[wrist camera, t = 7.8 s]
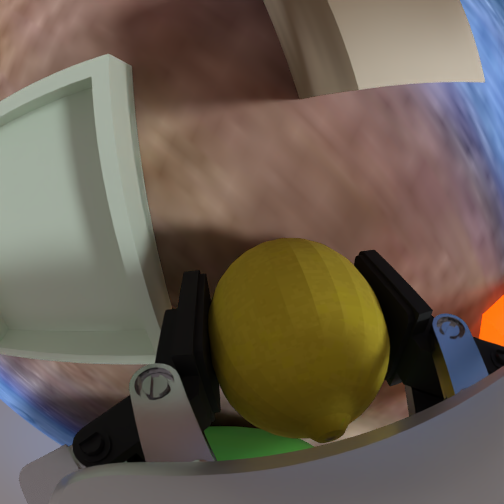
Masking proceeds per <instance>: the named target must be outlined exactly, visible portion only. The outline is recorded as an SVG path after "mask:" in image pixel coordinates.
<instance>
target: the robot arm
mask: <svg viewBox="0 0 504 504" xmlns="http://www.w3.org/2000/svg"><path fill="white" fill-rule="evenodd" d="M354 266H355V267H356V268H357V270H358V271H359V272H360V273H361V275H362V276H363V277H364V278H365V279H366V281H367V282H368V283H369V285H370V286H371V288H372V290H373V291H374V293H375V295H376V297H377V299H378V302H379V304H380V307H381V310H382V313H383V316H384V319H385V323H386V326H387V330H388V335H389V342H390V353H389V362H388V369H387V373H386V376H385V379H384V380H387V382H388V384H389V386H393V385H396V384H399V383H401V382H403V384H404V385H405V392H406V398H407V405H408V412H409V417H407V418H405V419H402V420H400V421H397V422H395V423H392V424H389V425H387V426H384V427H381V428H378V429H376V430H373V431H370V432H367V433H364V434H361V435H357V436H354V437H351V438H347V439H344V440H340V441H337V442H333V443H329V444H325V445H321V446H317V447H313V448H308V449H303V450H298V451H293V452H288V453H282V454H276V455H270V456H263V457H255V458H246V459H236V460H224V461H217V459H216V457H215V455H214V453H213V451H212V448H211V446H210V444H209V442H208V440H207V437H206V435H205V433H204V430H205V429H207V428H208V427H209V426H210V425H211V421H215V413H216V412H220V392H219V382H218V379H217V377H216V374H215V371H214V369H213V366H212V361H211V353H210V344H209V334H208V313H209V307H210V304H211V299H210V294H209V288H208V282H207V277H206V274H200V271H199V270H197V271H188V272H184V274H183V279H182V285H181V291H180V297H179V303H178V309H167V310H166V311H165V313H164V318H163V322H162V327H161V332H160V337H159V342H158V348H157V353H156V359H155V364H149V365H147V366H144V367H142V368H141V369H139V370H138V371H136V373H135V374H134V375H133V376H132V378H131V380H130V383H129V391H130V395H129V396H128V397H127V398H125V399H124V400H122V401H121V402H120V403H118V404H117V405H115V406H114V407H112V408H111V409H110V410H108V411H107V412H105V413H104V414H102V415H101V416H99V417H98V418H96V419H95V420H93V421H92V422H91V423H89V424H88V425H86V426H85V427H83V428H82V429H81V430H80V431H78V432H77V434H76V435H75V437H74V440H73V444H72V445H71V446H69V447H68V446H67V445H66V444H65V445H63V446H61V447H60V448H58V449H56V450H54V451H52V452H50V453H48V454H47V455H45V456H43V457H41V458H39V459H37V460H35V461H33V462H31V463H29V464H27V465H26V466H25V467H23V468H22V471H21V472H20V477H19V481H20V486H21V488H22V491H23V493H24V496H25V498H26V500H27V503H28V504H504V346H501V345H498V344H495V343H491V342H488V341H485V340H481V339H478V338H475V337H472V335H471V332H470V330H469V328H468V326H467V325H466V323H465V322H464V321H463V320H462V319H461V318H459V317H457V316H455V315H452V314H440V315H438V316H436V317H435V318H434V317H433V316H432V315H431V314H432V311H433V310H432V309H431V308H430V307H429V306H428V304H427V303H426V302H425V301H424V300H423V299H422V298H421V297H420V296H419V295H418V294H417V292H416V291H415V290H414V289H413V288H412V287H411V286H410V285H409V284H408V283H407V282H406V281H405V280H404V279H403V278H402V277H401V276H400V275H399V274H398V273H397V272H396V270H395V269H394V268H393V267H392V266H391V265H390V264H389V263H388V262H387V261H386V260H385V259H384V258H383V257H382V256H381V255H379V254H378V253H377V252H376V251H375V250H369V251H361V252H360V253H359V256H356V258H355V263H354Z"/></svg>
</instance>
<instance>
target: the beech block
mask: <svg viewBox="0 0 504 504" xmlns="http://www.w3.org/2000/svg"><path fill="white" fill-rule="evenodd" d="M263 2H264V4H265V6H266V9H267V11H268V14H269V16H270V18H271V21H272V23H273V26H274V28H275V31H276V33H277V36H278V39H279V41H280V44H281V46H282V49H283V52H284V55H285V57H286V60H287V63H288V66H289V69H290V72H291V75H292V78H293V80H294V83H295V87H296V90H297V93H298V96H299V99H304V98H309V97H315V96H320V95H326V94H333V93H339V92H346V91H354V90H362V89H369V88H376V87H384V86H393V85H403V84H415V83H431V82H485V79H484V74H483V70H482V66H481V62H480V58H479V54H478V51H477V47H476V44H475V40H474V37H473V34H472V31H471V28H470V25H469V23H468V20H467V17H466V14H465V12H464V9H463V7H462V4H461V2H460V0H263Z"/></svg>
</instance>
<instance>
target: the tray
mask: <svg viewBox="0 0 504 504" xmlns="http://www.w3.org/2000/svg"><path fill="white" fill-rule="evenodd" d="M167 309H172V306H171V302H170V298H169V295H168V291H167V287H166V283H165V279H164V275H163V271H162V267H161V263H160V259H159V254H158V250H157V245H156V241H155V236H154V231H153V227H152V222H151V217H150V211H149V206H148V201H147V195H146V189H145V183H144V177H143V171H142V164H141V157H140V150H139V142H138V134H137V125H136V115H135V104H134V92H133V77H132V66H131V65H129V64H127V63H125V62H123V61H121V60H120V59H118V58H116V57H114V56H112V55H110V54H106V55H103V56H100V57H97V58H94V59H91V60H88V61H85V62H82V63H79V64H77V65H74V66H72V67H69V68H67V69H64V70H62V71H59V72H57V73H55V74H52V75H50V76H48V77H46V78H43V79H41V80H39V81H37V82H35V83H33V84H31V85H29V86H27V87H25V88H23V89H21V90H20V91H18V92H16V93H14V94H12V95H10V96H9V97H7V98H5V99H4V100H2V101H0V354H3V355H9V356H16V357H23V358H31V359H40V360H49V361H60V362H74V363H92V364H155V359H156V353H157V348H158V342H159V337H160V332H161V327H162V322H163V318H164V313H165V311H166V310H167Z"/></svg>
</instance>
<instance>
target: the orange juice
mask: <svg viewBox="0 0 504 504" xmlns="http://www.w3.org/2000/svg"><path fill="white" fill-rule="evenodd" d="M479 339H481V340H485V341H488V342H491V343H495V344H498V345H501V346H504V295H503V296H502V297H501V298H500V299H499V300H498V301H497V302H496V303H495V304H494V305H492V306H491V307H490V308H489V309H488V310H487V311H486V312H485V313H484V314H483V315H482V322H481V329H480V335H479Z"/></svg>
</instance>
